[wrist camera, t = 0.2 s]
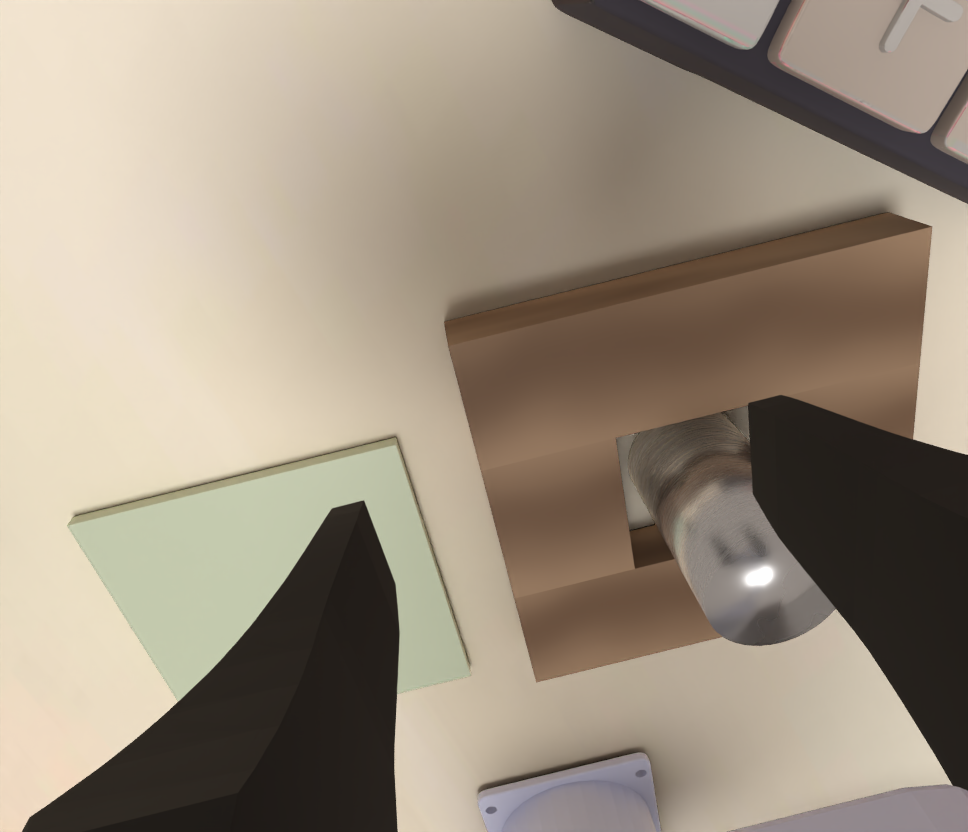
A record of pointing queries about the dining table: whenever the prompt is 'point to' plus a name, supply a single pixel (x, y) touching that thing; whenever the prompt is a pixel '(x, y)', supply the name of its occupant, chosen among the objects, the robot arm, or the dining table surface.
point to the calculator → (824, 67)
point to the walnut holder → (668, 409)
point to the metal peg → (723, 532)
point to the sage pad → (264, 560)
